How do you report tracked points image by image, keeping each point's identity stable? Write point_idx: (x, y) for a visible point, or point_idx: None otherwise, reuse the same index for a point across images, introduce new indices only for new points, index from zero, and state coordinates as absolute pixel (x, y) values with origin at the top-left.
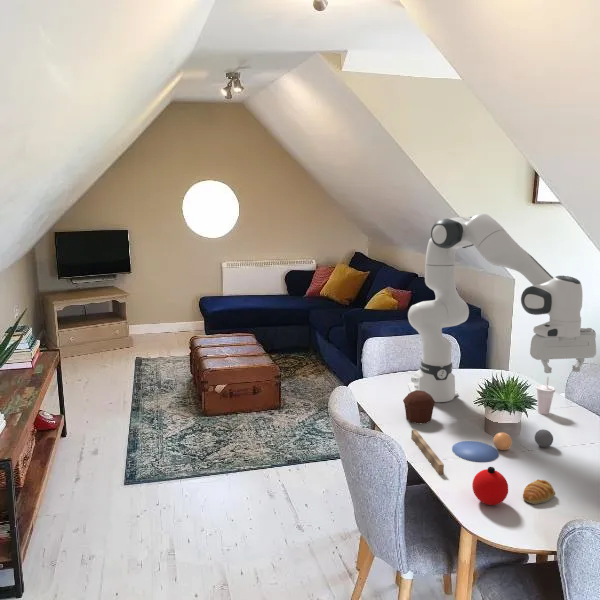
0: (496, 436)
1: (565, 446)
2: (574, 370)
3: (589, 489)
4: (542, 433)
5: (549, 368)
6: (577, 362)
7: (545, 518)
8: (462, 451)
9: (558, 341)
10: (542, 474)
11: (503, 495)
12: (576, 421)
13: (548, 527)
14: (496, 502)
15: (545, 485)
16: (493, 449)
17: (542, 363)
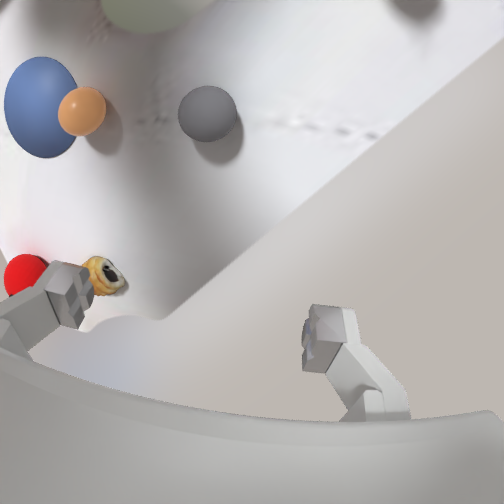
0: (58, 116)
1: (280, 125)
2: (305, 330)
3: (194, 284)
4: (187, 129)
5: (62, 321)
6: (358, 377)
7: (96, 307)
8: (17, 111)
9: None
10: (134, 224)
11: None
12: (450, 13)
13: (94, 317)
14: None
15: (102, 290)
16: None
17: (4, 302)
